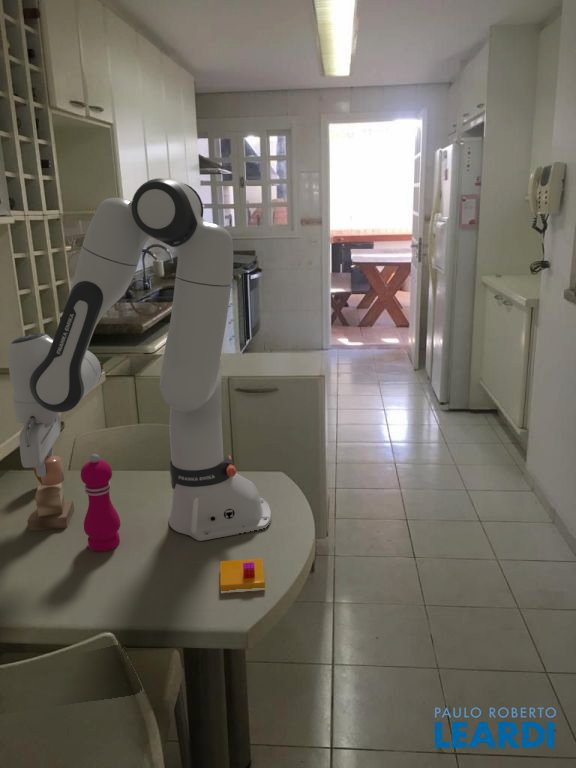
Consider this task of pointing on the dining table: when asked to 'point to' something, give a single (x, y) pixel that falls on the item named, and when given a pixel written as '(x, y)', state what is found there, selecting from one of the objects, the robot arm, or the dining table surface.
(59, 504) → the cube
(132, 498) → the dining table surface
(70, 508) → the slab
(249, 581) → the orange square tile
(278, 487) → the dining table surface
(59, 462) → the tan capsule
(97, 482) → the pepper mill
